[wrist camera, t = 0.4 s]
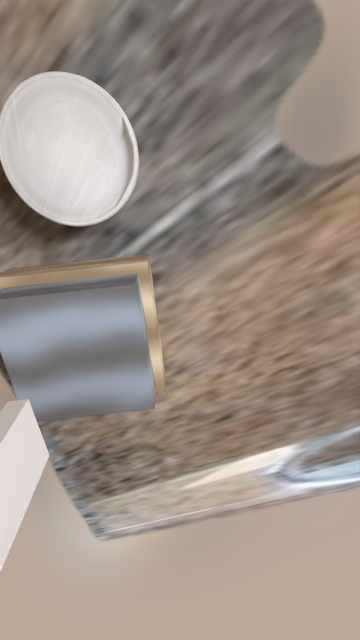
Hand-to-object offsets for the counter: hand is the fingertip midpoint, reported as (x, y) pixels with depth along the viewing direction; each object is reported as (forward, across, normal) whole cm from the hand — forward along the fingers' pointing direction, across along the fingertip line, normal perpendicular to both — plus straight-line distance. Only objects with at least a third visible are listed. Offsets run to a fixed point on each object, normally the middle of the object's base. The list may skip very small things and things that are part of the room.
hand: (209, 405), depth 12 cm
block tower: (+25, -11, -6) cm, 28 cm away
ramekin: (+25, -8, +11) cm, 28 cm away
